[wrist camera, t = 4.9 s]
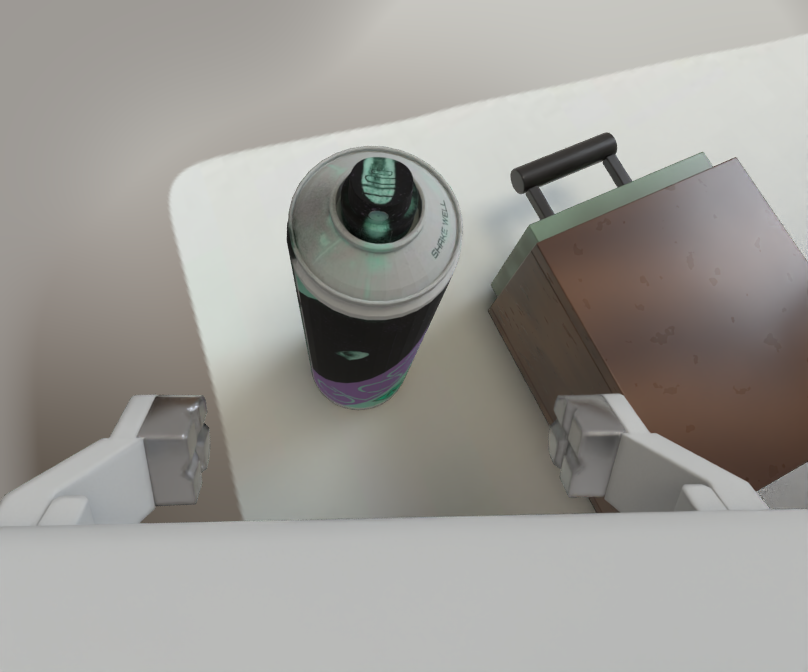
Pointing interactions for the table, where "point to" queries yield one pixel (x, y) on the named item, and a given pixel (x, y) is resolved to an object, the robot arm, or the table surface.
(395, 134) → the table surface
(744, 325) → the cabinet
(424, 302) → the spray can
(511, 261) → the cabinet drawer
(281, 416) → the table surface
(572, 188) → the table surface
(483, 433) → the table surface
